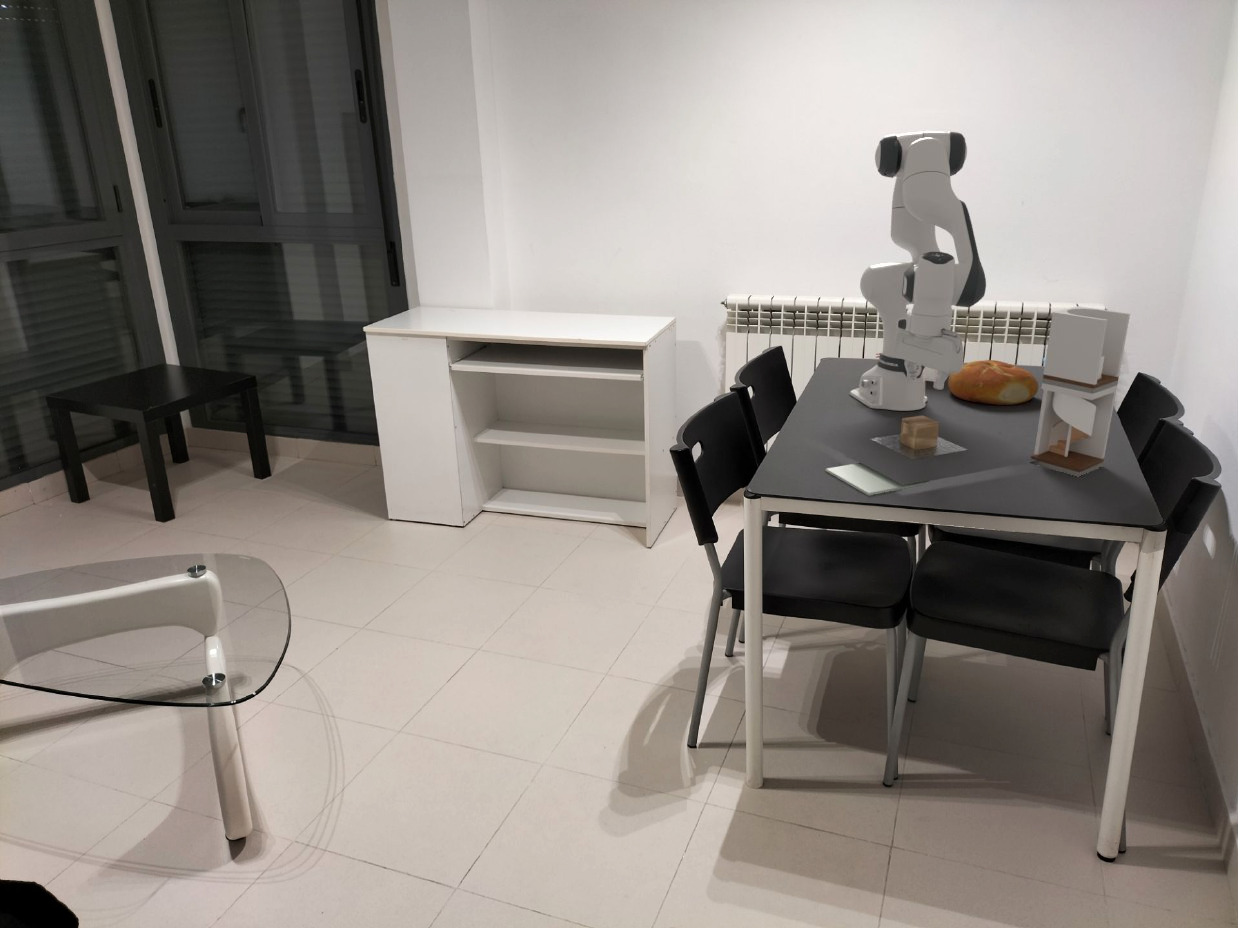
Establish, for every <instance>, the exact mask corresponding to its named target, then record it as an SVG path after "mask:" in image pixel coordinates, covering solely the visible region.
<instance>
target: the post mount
mask: <svg viewBox="0 0 1238 928" xmlns="http://www.w3.org/2000/svg"><path fill="white" fill-rule="evenodd" d="M900 435H901V433H899V434H893V435H891V434H890V435H886V436H880V437H874V438H870V440H871V441H873V442H875V443H878V444H879V445H882V446H883V447H886V448H888V449H890V450H892V451H894V452H896V453H898V454H900V455H902V456H904V457H907V458H908V459H911V460H918V459H923V458H929V457H930V458H931V457H934V456H935V457H936V456H941V455H946V454H952V453H959V452H963V451H968V449H967V448H965V447H963V446H960V445H958V444H956V443H953V442H951V441H949V440H946V439H944V438H942V437H939V436H938V439H937V446H935V447H929V448H923V449H918V450H916V449H913V448H911V447H909V446H907V445H905V444H903V443H901V442H900Z"/></svg>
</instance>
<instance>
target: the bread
mask: <svg viewBox="0 0 1238 928" xmlns="http://www.w3.org/2000/svg"><path fill="white" fill-rule="evenodd" d="M948 377H949V378H948V381H947V382H948V383H947V385H948V388H949V391H950V393H952V394H953V395H954V396H955V397H957V398H958V399H961V400H964V401H967V402H974V403H981V404H987V405H988V404H989V405H996V406H999V405H1000V406H1012V405H1019V404H1023V403H1027V402H1028V401H1030V400H1031V399H1033V398H1034V397H1035V396H1036V395H1037V393H1038V391H1039V382H1038V380H1037V378H1036V377H1035V375H1033V374H1032V372H1030V371H1028V370H1027V369H1024V368H1022V367H1019V366H1017V365H1014V364H1011V363H1008V362H1003V361H1001V360H1000V361H999V360H992V359H986V360H985V359H984V360H977V361H976V360H975V361H971V362H967V363H965V364H964V363H963V368H962V370H961V371H960V372H959V373H954V374H949V376H948Z"/></svg>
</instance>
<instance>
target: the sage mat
mask: <svg viewBox="0 0 1238 928" xmlns="http://www.w3.org/2000/svg"><path fill="white" fill-rule="evenodd" d="M825 472H826V473H828V474H829V475H832V476H834V477H835V478H836V479H839V480H841V481H842V482H844V483H846V484H848V485H849V486H851V487H853V488H854V489H856V490H858V491H860V492H861V493H863V494H865V495H866V496H869V497H870V496H873V495H874V494H875V495H879V494H884V492H885V493H890V491H891V492H896V491H900V489H902V490H906V489H911V488H916V487H923V486H928V485H930V483H931V481H929V480H924V481H920V482H913V483H908V484H907V483H906V484H902V483H900V482H899V481H898V482H897V481H896V480H895V479H893V478H890V477H888V476H886V475H885V474H883V473H881V472H879V471H877V470H875V469H873V468H872V467H869V466H867V465H865V464H864V463H862V462H857V463H851V464H844V465H840V466H839V465H838V466H833V467H827V468H825Z"/></svg>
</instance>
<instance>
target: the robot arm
mask: <svg viewBox="0 0 1238 928" xmlns="http://www.w3.org/2000/svg"><path fill="white" fill-rule="evenodd" d="M967 156H968V145H967V143H966V137H965V136H964V135H963V134H962V133H960V132H957V131H951V130H949V131H948V132H947V131H937V130H935V131H934V130H933V131H932V130H925V131H924V130H923V131H919V132H918V131H917V132H915V131H914V132H907V133H900V134H896V133H892V134H891V133H890V134H889V135H885V136H883V137H881V139H880V140H879V142H878V145H877V147H876V150H875V155H874V160H875V161H874V162H875V167H876V168H877V172H878V173H879V175H881V176H883V177H885V178H891V179H893V178H894V177H896V179H895V183H894V186H893V187H894V188H893V194H892V202H891V221H890V238H891V241H893V243H894V244H895V246H897V247H899V248H901V249H903V250H906V251H907V252H909V254H910V255H911V259H912V261H910V262H883V263H878V264H874V265H873V264H872V265H869V266H867V268H866V269H865V270H864V272H863V273H862V275H861V278H860V285H859V288H860V292H861V295H862V296H863V297H864V299H865V300H866V301H867V302H868V303H869V304H870V305H872V307H874V308H875V310H876V312H877V313H878V315H879V316H880V319H881V321H882V322H881V323H882V331H883V332H882V333H883V338H882V339H883V340H882V351H881V352H880V353H876V354H875V355H876V356H875V358H877V362H876V365H875V366H873V367H872V368H870V369H869V370H867V371H866V372H864V373H863V374H861V376H860V380H859V385H858V388H857V387H856V388H855V389H852V390H850V392H849V395H850V396H851V397H853V398H854V399H855V400H857V401H860V403H862V404H864V405H865V406H867V407H868V408H870V409H877V410H878V409H880V410H881V409H882V410H890V411H900V412H901V411H903V412H904V411H907V412H908V411H916V410H917V411H918V410H921V409H923V408H925V407H926V402H928V396H926V380H925V373H924V372H923V369H924V368H925V367H928V368H932V369H935V370H938V375H939V377H938V379H937V380H936V381H933V386H932V387H933V389H935V390H944V387H945V382H946V380H947V379H948V377H950V375H951V374H954V373H959V372H960V371H961V370H962V368H963V364H964V346H963V339H962V337H961V336H960V334H959V332H957V331H952V330H951V328H952V321H953V308H952V307H953V306H955V307H960V308H961V307H962V308H971V307H972V306H974V305H975V304H978V302H980V301H981V300H982V299H983V298H984V297H985V293H986V288H987V279H986V274H985V271H984V267H983V265H982V262H981V260H980V259H981V258H980V255H979V251H978V246H977V242H976V237H975V232H974V229H973V223H972V221H971V217H970V212H969V209H968V207H967V204H966V202H965V201H963V200H960V199H959V197H958V196H957V195H956V194H955V192H954V189H953V187H952V184H951V177H952V176H954V175H955V176H956V174H958V172H960V171H961V170H962V169H963V167H964V165H965V162H966V159H967ZM936 227H939V228H940V229H943V230H944V231H946V232H947V233H948V234H950V236H951V237H952V239H953V242H954V248H955V252H956V253H955V254H956V257H957V263H956V259H955V257H954V256H953V255H952V254H950V253H948V252H947V253H946V252H943V251H941V250H940V248H939V245H938V242H937V237H936ZM911 304H914V306H913V309H912V314H911V315H909V314H907V306H910V305H911Z"/></svg>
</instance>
